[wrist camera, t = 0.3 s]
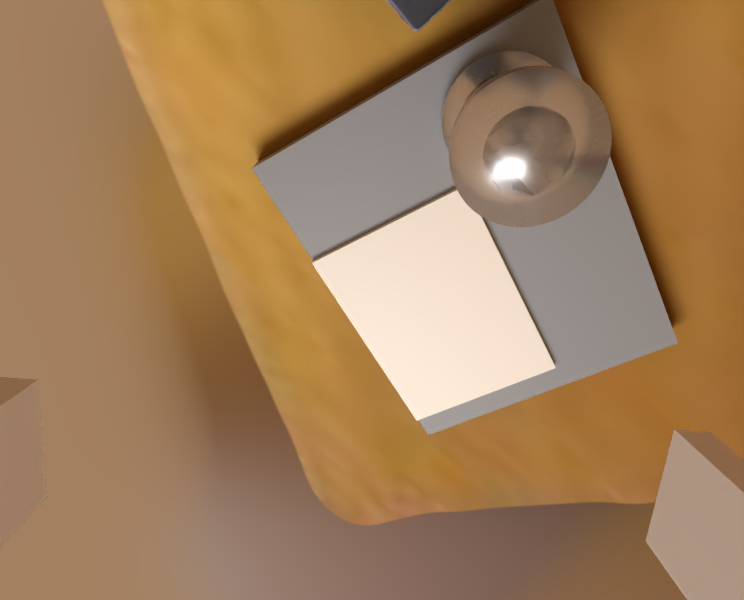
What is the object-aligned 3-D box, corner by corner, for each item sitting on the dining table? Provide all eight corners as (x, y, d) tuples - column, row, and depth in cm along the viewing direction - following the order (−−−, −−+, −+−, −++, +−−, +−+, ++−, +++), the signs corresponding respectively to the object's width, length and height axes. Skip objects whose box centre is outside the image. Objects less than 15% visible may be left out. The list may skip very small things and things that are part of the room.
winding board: (544, -7, 30) (552, -7, 28) (668, 331, 39) (680, 346, 37) (257, 161, 35) (250, 170, 33) (428, 421, 45) (428, 438, 43)
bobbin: (539, 23, 29) (579, 33, 22) (584, 142, 32) (632, 184, 25) (420, 91, 31) (422, 120, 24) (472, 197, 34) (487, 251, 27)
